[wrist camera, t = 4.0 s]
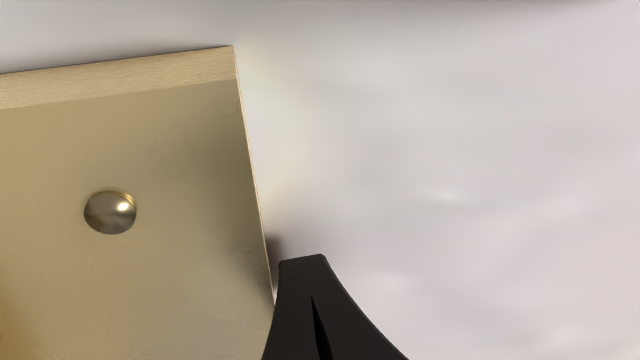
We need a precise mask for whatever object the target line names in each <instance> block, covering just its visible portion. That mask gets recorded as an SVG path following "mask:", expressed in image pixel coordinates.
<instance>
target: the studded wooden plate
mask: <svg viewBox="0 0 640 360" xmlns="http://www.w3.org/2000/svg"><path fill="white" fill-rule="evenodd" d="M274 308H275V297H274V291H273V285H272V279H271V273H270V267H269V261H268V255H267V249H266V243H265V237H264V231H263V225H262V219H261V213H260V207H259V201H258V195H257V189H256V183H255V176H254V170H253V164H252V158H251V152H250V146H249V140H248V134H247V128H246V122H245V116H244V110H243V104H242V98H241V92H240V86H239V80H238V74H237V68H236V62H235V56H234V50H233V46H227V47H218V48H210V49H202V50H194V51H186V52H178V53H170V54H161V55H153V56H145V57H137V58H129V59H121V60H113V61H104V62H96V63H88V64H80V65H72V66H64V67H56V68H47V69H39V70H31V71H23V72H15V73H7V74H0V360H261V358H262V355H263V352H264V349H265V345H266V341H267V338H268V334H269V331H270V327H271V323H272V318H273V313H274Z"/></svg>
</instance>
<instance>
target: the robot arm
mask: <svg viewBox="0 0 640 360" xmlns="http://www.w3.org/2000/svg"><path fill="white" fill-rule="evenodd" d="M278 268H279V280H278V290H277V298H276V303H275V308H274V313H273V318H272V323H271V327H270V331H269V334H268V338H267V341H266V345H265V349H264V352H263V355H262V358H261V360H409V359H408V358H406V357H405V356H404V355H403V354H402V353H401V352H400V351H399V350H398V349H397V348H396V347H395V346H394V345H393V344H392V343H391V342H390V341H389V340H388V339H387V338H386V337H385V336H384V335H383V334H382V333H381V332H380V331H379V330H378V329H377V328H376V327H375V325H374V324H373V323H372V322H371V321H370V320H369V319H368V318H367V316H366V315H365V314H364V313H363V312H362V310H361V309H360V308H359V307H358V305H357V304H356V303H355V302H354V300H353V299H352V298H351V296H350V295H349V294H348V292H347V291H346V290H345V288H344V287H343V285H342V284H341V283H340V281H339V280H338V278H337V277H336V275H335V273H334V272H333V270H332V269H331V267H330V265H329V263H328V261H327V259H326V257H325V256H324V255H322V254H316V255H310V256H304V257H299V258H293V259H287V260H282V261H281V262H280V263H279V264H278Z"/></svg>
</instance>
